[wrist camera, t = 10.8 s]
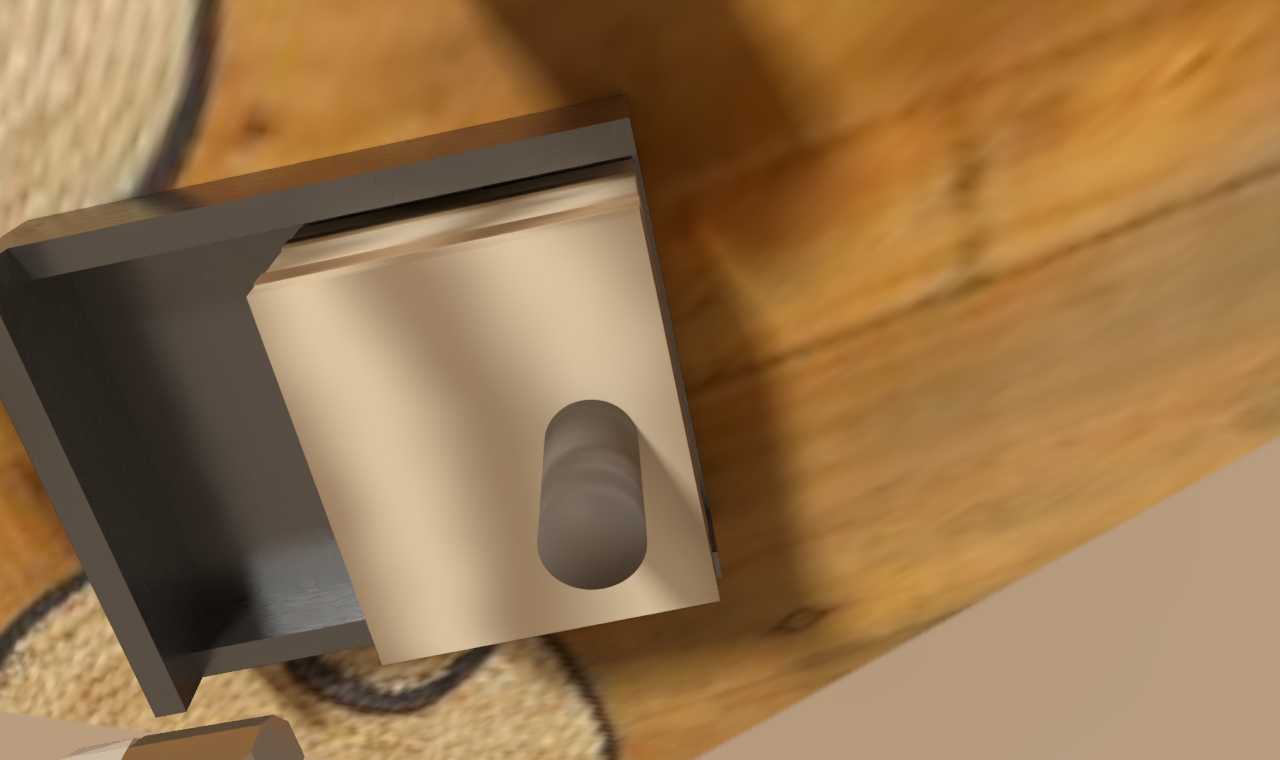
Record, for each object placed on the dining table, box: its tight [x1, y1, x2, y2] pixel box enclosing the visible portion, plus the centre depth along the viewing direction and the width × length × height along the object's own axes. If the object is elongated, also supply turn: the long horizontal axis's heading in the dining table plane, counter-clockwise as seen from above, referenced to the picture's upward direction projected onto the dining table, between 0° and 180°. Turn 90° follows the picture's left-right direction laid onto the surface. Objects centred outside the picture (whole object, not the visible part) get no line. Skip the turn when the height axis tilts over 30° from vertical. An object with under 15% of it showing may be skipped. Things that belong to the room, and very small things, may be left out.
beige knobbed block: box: [246, 159, 720, 665], centre depth 37 cm, size 12×14×13 cm
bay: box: [0, 94, 723, 717], centre depth 42 cm, size 22×18×6 cm
